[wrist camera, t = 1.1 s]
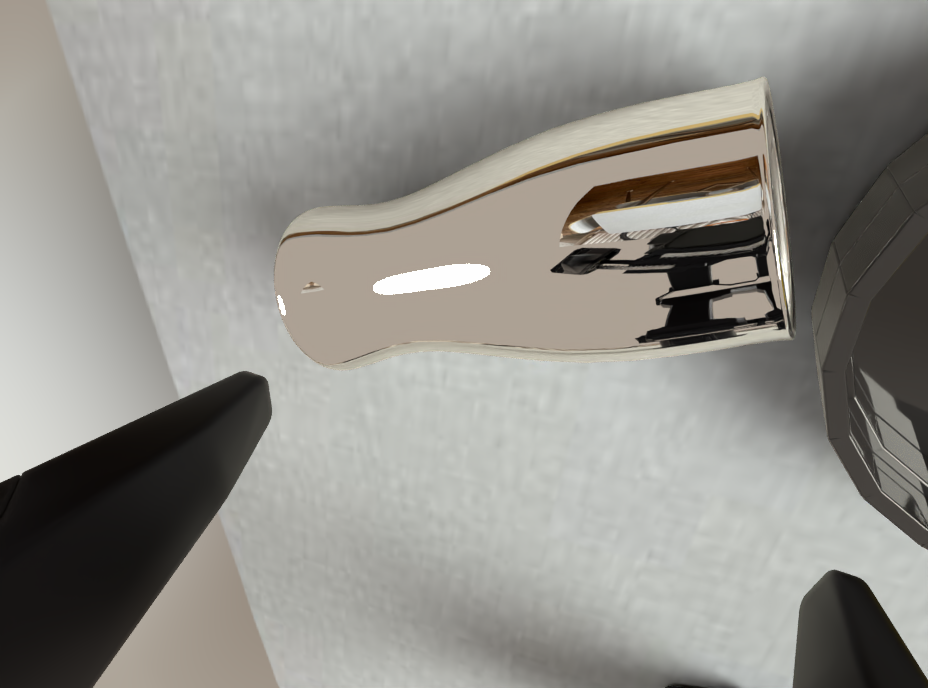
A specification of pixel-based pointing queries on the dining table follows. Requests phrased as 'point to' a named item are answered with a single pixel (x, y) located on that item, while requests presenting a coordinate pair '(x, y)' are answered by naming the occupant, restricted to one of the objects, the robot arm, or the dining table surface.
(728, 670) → the dining table surface
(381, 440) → the dining table surface
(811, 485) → the dining table surface
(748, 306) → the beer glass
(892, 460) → the pan
